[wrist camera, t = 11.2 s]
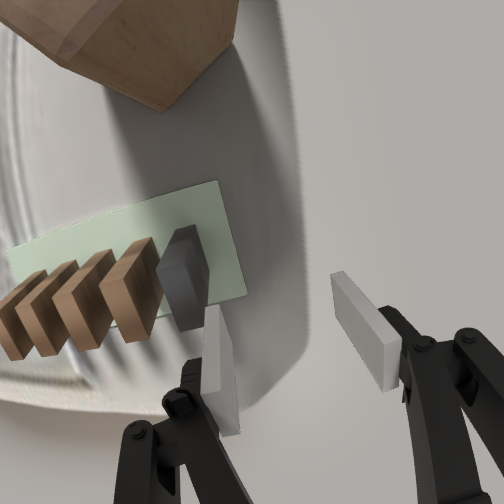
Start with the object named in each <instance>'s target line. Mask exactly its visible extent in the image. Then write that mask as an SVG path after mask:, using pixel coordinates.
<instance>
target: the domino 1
mask: <svg viewBox="0 0 504 504" xmlns="http://www.w3.org/2000/svg"><path fill="white" fill-rule="evenodd" d="M79 269H80V268H79V266H78V263H77V261H76V259H75V260H72V261H69V262H65V263H62V264H61V265H60V266H58V267H57V268H56V269H55V270H54V271H53V272H52V273H51V274H50V275H48V276H47V277H46V278H45V279H44V280H43V281H42V282H41V283H40V284H39V285H38V286H36V287H35V288H34V289H33V290H32V291H31V292H30V293H29V294H28V295H27V296H26V297H25V298H24V299H23V300H22V301H21V302H20V303H19V304H18V305H17V306H16V307H15V310H16V312H17V314H18V316H19V318H20V320H21V321H22V323H23V325H24V327H25V329H26V331H27V333H28V335H29V336H30V338H31V340H32V342H33V343H34V345H35V347H36V349H37V350H38V352H39V354H40V355H41V357H46V356H53V355H58V353H59V352H60V350H61V348H62V347H63V345H64V344H65V342H66V341H67V339H68V338H69V336H70V333H69V332H68V330H67V328H66V326H65V324H64V322H63V320H62V318H61V316H60V314H59V312H58V310H57V308H56V306H55V304H54V302H53V299H52V297H53V296H54V295H55V293H56V292H57V291H58V290H59V289H60V288H61V287H62V286H63V285H64V284H65V283H66V282H67V281H68V280H69V279H70V278H71V277H72V276H73V275H74V274H75V273H76V272H77V271H78V270H79Z"/></svg>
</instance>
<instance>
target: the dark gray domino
mask: <svg viewBox="0 0 504 504" xmlns="http://www.w3.org/2000/svg"><path fill="white" fill-rule="evenodd" d="M156 272H157V275H158V278H159V280H160V283H161V286H162V288H163V291H164V293H165V296H166V299H167V301H168V304H169V306H170V309H171V311H172V314H173V316H174V319H175V321H176V324H177V326H178V329H179V331H180V332H183V331H188V330H192V329H196V328H201V327H204V320H205V307H208V292H209V276H210V271H209V267H208V264H207V261H206V258H205V254H204V251H203V248H202V245H201V241H200V238H199V235H198V231H197V228H196V224H194V225H190V226H187V227H183V228H179V229H176V230H175V231H174V233H173V235H172V237H171V239H170V241H169V243H168V245H167V247H166V249H165V251H164V253H163V255H162V258H161V260H160V262H159V264H158V266H157V268H156Z"/></svg>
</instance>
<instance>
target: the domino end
mask: <svg viewBox="0 0 504 504" xmlns="http://www.w3.org/2000/svg"><path fill="white" fill-rule="evenodd" d="M47 276H48V274H47V272H46V269H44V270H41V271H38V272H35V273H33V274H31V275H30V276H29V277H28V278H27V279H26V280H24V281H23V282H22V283H21V284H20V285H19V286H17V287H16V288H15V289H14V290H13V291H12V292H11V293H9V294H8V295H7V296H6V297H5V298H4V299H3V300H2V301H1V302H0V343H1V345H2V347H3V349H4V350H5V352H6V354H7V355H8V357H9V359H10V360H11V361H16V360H24V359H25V357H26V356H27V354H28V353H29V352H30V350H31V349H32V348H33V346H34V343H33V342H32V340H31V338H30V336H29V335H28V333H27V331H26V329H25V327H24V325H23V323H22V321H21V320H20V318H19V316H18V314H17V312H16V310H15V307H16V306H17V305H18V304H19V303H20V302H21V301H22V300H23V299H24V298H25V297H26V296H27V295H28V294H29V293H30V292H31V291H32V290H33V289H34V288H35V287H36V286H38V285H39V284H40V283H41V282H42V281H43V280H44V279H45V278H46V277H47Z"/></svg>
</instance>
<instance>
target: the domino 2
mask: <svg viewBox="0 0 504 504" xmlns="http://www.w3.org/2000/svg"><path fill="white" fill-rule="evenodd" d="M115 263H116V260H115V257H114V254H113V251H112V249H107V250H104V251H101V252H97V253H95V254H94V255H93V256H92V257H91V258H90V259H89V260H88V261H87V262H86V263H85V264H84V265H83V266H82V267H81V268H80V269H79V270H78V271H77V272H76V273H75V274H74V275H73V276H72V277H71V278H70V279H69V280H68V281H67V282H66V283H65V284H64V285H63V286H62V287H61V288H60V289H59V290H58V291H57V292H56V293H55V295H54V296H53V297H52V299H53V302H54V304H55V306H56V308H57V310H58V312H59V314H60V316H61V318H62V320H63V322H64V324H65V326H66V328H67V330H68V332H69V333H70V335H71V337H72V339H73V341H74V343H75V344H76V346H77V348H78V350H79V351H85V350H91V349H97V348H99V347H100V345H101V343H102V341H103V339H104V337H105V335H106V333H107V331H108V329H109V328H110V326H111V324H112V322H113V320H114V318H113V316H112V314H111V312H110V310H109V307H108V305H107V303H106V301H105V299H104V296H103V294H102V292H101V289H100V287H99V284H100V283H101V281H102V280H103V279H104V277H105V276H106V275H107V274H108V272H109V271H110V270H111V268H112V267H113V266H114V265H115Z"/></svg>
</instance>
